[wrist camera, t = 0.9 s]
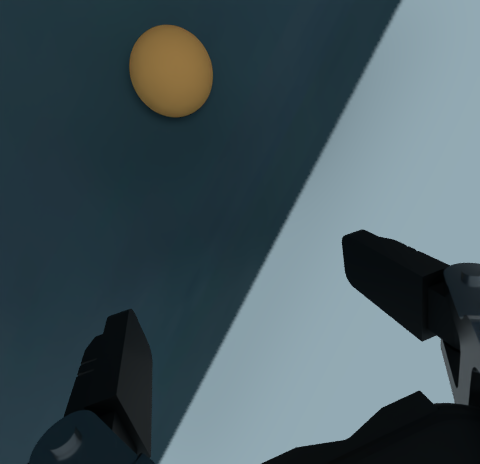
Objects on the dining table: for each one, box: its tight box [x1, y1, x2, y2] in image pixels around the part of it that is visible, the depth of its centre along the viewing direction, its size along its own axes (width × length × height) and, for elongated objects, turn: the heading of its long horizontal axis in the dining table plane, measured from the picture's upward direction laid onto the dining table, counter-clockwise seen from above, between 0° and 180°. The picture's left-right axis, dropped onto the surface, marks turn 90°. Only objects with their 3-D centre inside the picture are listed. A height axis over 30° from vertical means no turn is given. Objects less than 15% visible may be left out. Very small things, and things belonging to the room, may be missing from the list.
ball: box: [129, 25, 213, 117], centre depth 22 cm, size 6×6×6 cm
